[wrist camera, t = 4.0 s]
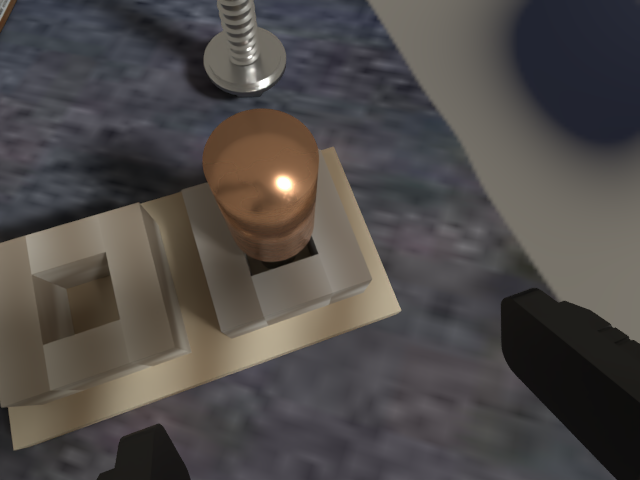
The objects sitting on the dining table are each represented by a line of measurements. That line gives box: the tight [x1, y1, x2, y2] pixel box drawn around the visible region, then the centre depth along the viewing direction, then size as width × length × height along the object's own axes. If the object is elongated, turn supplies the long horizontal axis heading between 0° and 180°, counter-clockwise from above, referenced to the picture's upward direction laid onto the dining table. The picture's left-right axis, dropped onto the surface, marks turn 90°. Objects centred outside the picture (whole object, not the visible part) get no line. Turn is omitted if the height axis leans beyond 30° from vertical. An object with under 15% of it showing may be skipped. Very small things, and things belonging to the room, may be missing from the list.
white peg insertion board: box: [0, 147, 401, 450], centre depth 22 cm, size 19×10×4 cm, turn 110°
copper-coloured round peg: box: [203, 109, 319, 270], centre depth 18 cm, size 4×4×10 cm
